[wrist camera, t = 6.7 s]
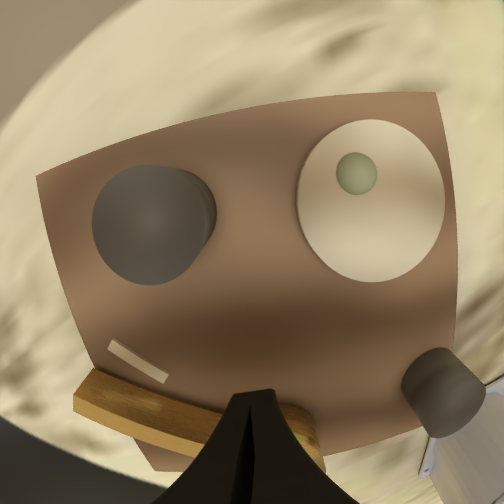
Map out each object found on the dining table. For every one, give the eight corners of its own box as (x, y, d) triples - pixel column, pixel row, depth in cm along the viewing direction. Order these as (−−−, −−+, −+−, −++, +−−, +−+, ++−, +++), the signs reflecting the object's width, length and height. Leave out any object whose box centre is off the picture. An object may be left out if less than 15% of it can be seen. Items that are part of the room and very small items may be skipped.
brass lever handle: (329, 412, 14) (342, 456, 11) (295, 461, 15) (301, 502, 12) (96, 342, 13) (65, 378, 10) (91, 402, 14) (69, 438, 11)
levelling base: (433, 404, 16) (466, 450, 11) (159, 456, 17) (143, 510, 12) (424, 98, 12) (485, 75, 7) (52, 175, 13) (-14, 179, 8)
